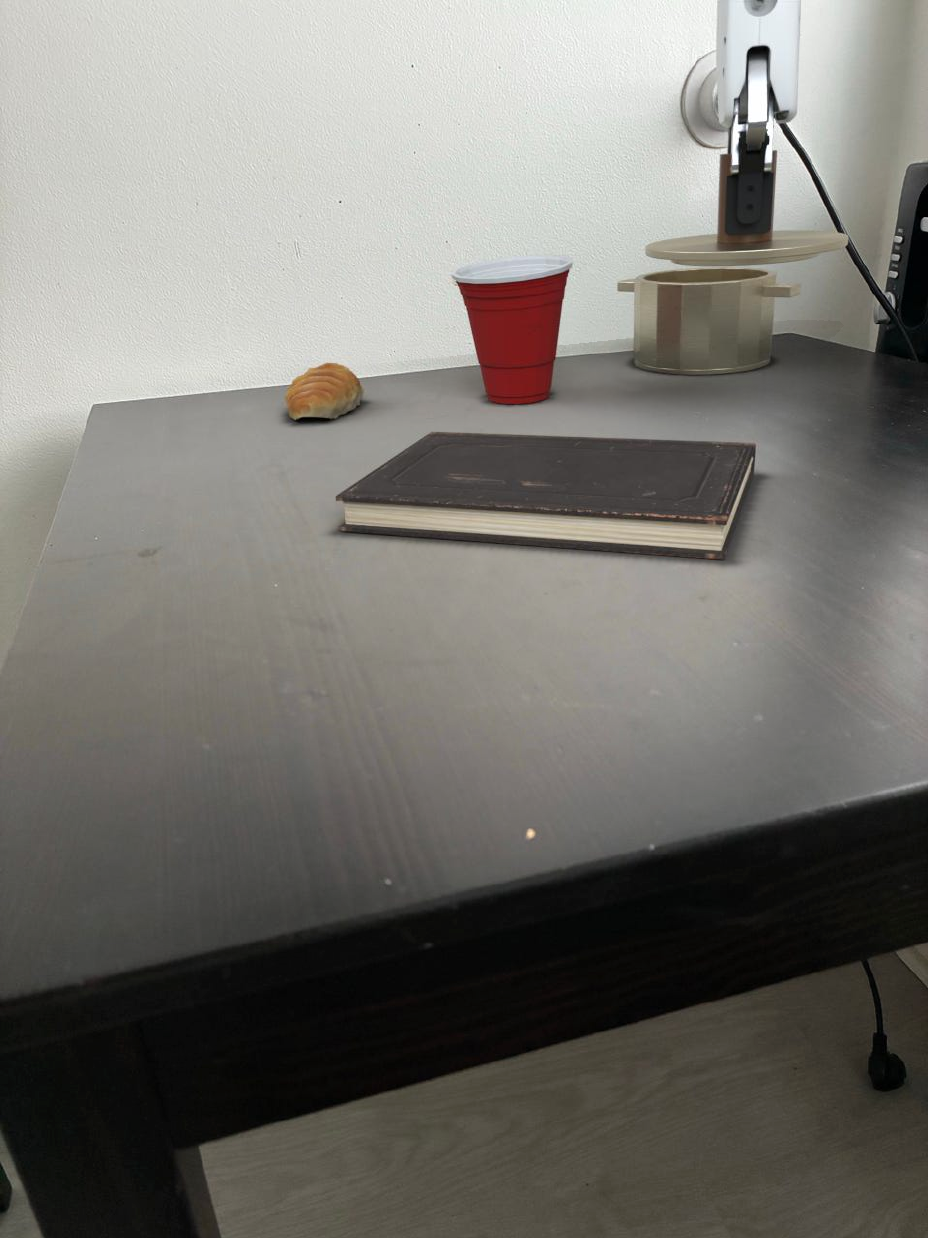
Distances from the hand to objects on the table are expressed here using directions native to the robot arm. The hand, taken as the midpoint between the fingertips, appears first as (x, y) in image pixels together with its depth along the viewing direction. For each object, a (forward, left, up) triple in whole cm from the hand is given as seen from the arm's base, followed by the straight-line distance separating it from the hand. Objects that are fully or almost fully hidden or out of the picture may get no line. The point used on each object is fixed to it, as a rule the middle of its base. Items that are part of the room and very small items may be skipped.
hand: (745, 228), depth 74 cm
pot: (-21, -14, -14) cm, 29 cm away
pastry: (+13, -34, -15) cm, 39 cm away
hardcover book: (+24, 0, -15) cm, 28 cm away
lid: (0, 0, -1) cm, 1 cm away
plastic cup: (+1, -21, -15) cm, 26 cm away
